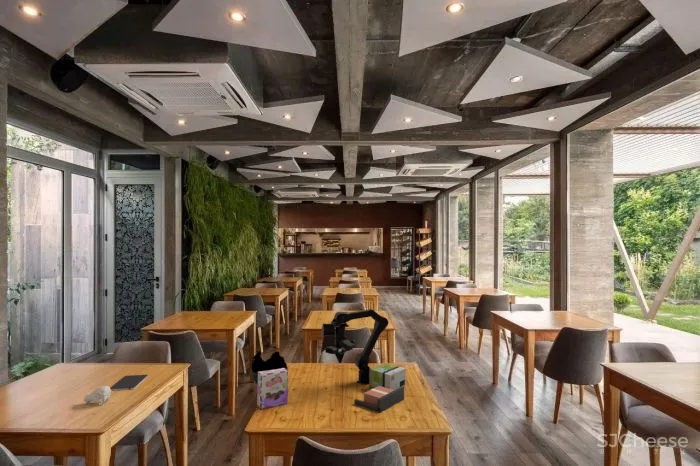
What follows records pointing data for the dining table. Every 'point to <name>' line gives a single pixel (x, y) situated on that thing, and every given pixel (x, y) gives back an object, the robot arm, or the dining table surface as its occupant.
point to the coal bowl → (266, 364)
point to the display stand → (384, 401)
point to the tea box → (387, 376)
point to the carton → (375, 394)
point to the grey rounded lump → (98, 395)
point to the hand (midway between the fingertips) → (340, 363)
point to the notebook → (129, 382)
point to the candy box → (272, 388)
